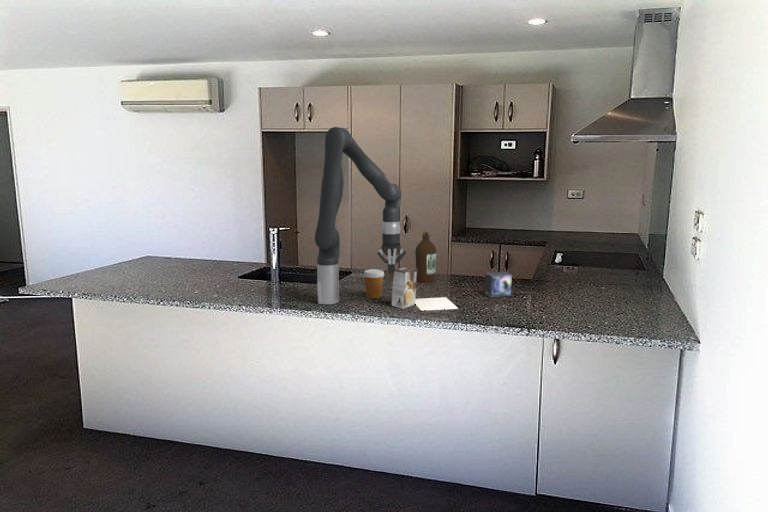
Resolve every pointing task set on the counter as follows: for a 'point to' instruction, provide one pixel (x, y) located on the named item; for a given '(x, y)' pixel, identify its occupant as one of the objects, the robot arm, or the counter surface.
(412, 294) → the coffee box
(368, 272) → the disposable coffee cup
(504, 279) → the small box
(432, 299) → the mat
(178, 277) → the counter surface
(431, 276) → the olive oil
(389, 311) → the counter surface
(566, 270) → the counter surface
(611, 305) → the counter surface
